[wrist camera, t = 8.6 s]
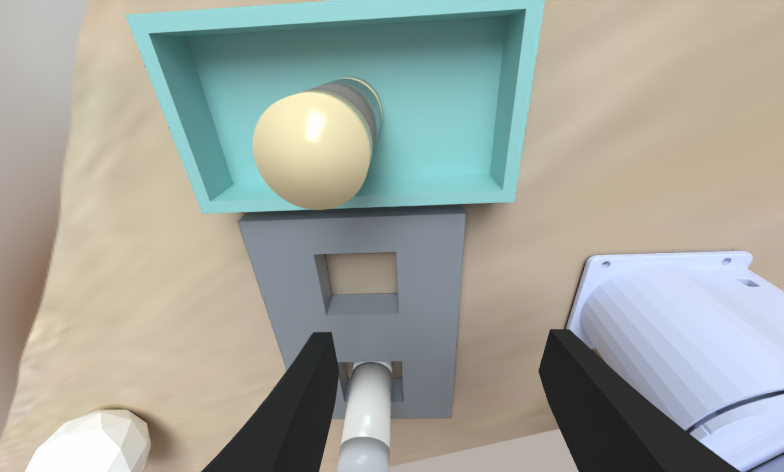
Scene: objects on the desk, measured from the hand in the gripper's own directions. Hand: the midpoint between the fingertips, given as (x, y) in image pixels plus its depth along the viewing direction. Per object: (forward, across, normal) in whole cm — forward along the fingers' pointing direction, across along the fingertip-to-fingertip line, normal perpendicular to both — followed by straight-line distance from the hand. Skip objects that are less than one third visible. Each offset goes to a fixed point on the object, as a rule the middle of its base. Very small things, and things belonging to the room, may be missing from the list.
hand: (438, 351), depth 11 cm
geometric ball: (+10, +28, +20) cm, 35 cm away
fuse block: (+9, +4, +7) cm, 13 cm away
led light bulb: (+9, +3, -7) cm, 11 cm away
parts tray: (+9, +4, -7) cm, 12 cm away
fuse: (+9, +4, +12) cm, 16 cm away
